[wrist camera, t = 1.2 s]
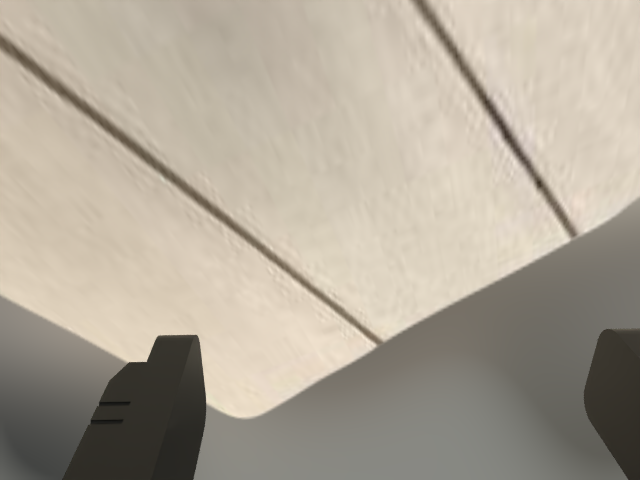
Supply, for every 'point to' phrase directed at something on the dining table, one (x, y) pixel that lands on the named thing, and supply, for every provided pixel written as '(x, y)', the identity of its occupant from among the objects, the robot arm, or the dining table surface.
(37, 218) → the dining table surface
